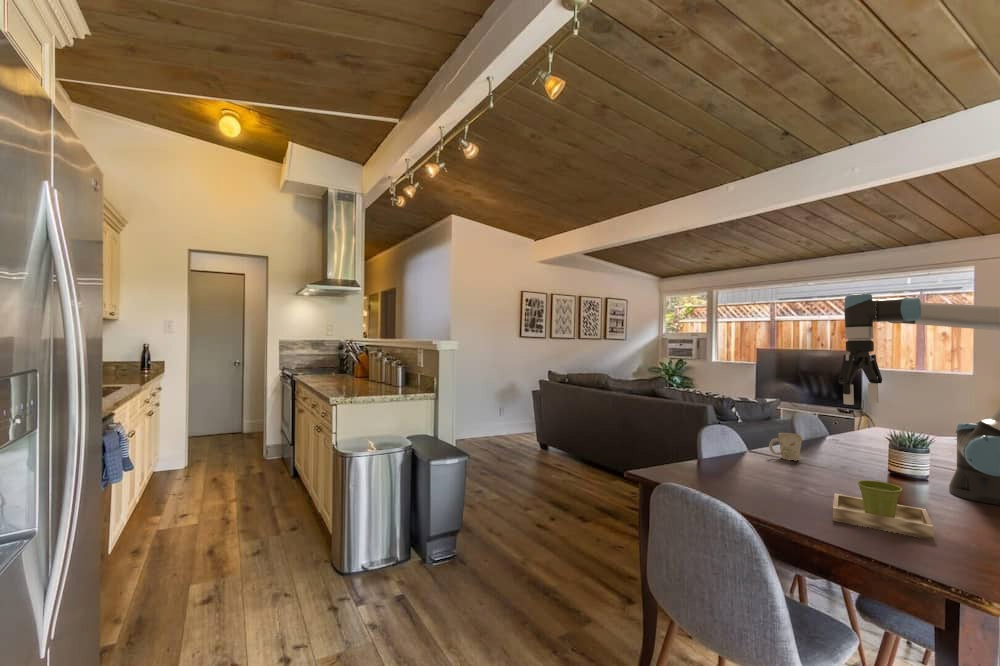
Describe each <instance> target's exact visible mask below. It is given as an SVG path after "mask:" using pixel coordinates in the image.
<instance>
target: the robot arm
mask: <svg viewBox="0 0 1000 666" xmlns="http://www.w3.org/2000/svg"><path fill="white" fill-rule="evenodd" d="M843 307H844V308H843V310H844V329H845V330H844V334H845V339H846V340H847V341H845V352H848V353H849V354H846V353H845V354H843V356H842V357H843V358H842V363H841V367H840V368H841V369H840V370H839V375H838V378H837V382H838V383H839V384H840V385H842V394H843V395H842V397H843V398H842V399H843V405H851V406H852V405H853V406H854V405H855V398H854V395H855V393H854V384H852V383H853V381H854V379H855V377H856V375H857V373H858V370H860V369H861V370H862V371H863V373H864V375H865V376H866V379H867V380H868V382H867V401H868V402H867V403H875V404H878V403H879V384H882V382H883V377H882V374H881V371H880V367H879V365H878V362H877V356H876V353H875V354H873V353H872V354H871V352H874V350H875V348H874V347H875V346H874V345H875V343H874V340H873V339H874V323H875V322H877V323H880V322H883V323H884V322H886V323H887V322H888V323H889V324H905V325H907V324H908V325H920V326H921V325H922V326H936V327H948V328H961V329H970V330H971V329H973V330H974V329H975V330H985V331H986V330H987V331H997V332H998V331H1000V306H997V305H980V304H978V305H977V304H974V305H973V304H957V303H940V302H938V303H937V302H922V301H921V299H920V298H919V297H908V296H907V297H906V296H905V297H897V298H881V299H876V298H873V295H872V294H871V293H854V294H852V293H851V294H849V295H848V294H847V295H846V296H845V298H844V306H843ZM955 433H956V470H955V472H954V473H953V476H952V477H951V478H952V479H951V480H950V482H949V484H948V485H949V486H948V492H949V493H950V494H952V495H954V496H956V497H959V498H963V499H967V500H970V501H974V502H979V503H983V504H990V505H991V504H992V505H999V506H1000V405H999V406H998V407H997V409H995V411H994V413H993V415H992V416H991V417H989V418H985V419H981V420H979V422H978V423H967V422H960V423H958V424H957V425H956V430H955Z"/></svg>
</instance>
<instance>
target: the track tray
mask: <svg viewBox="0 0 1000 666" xmlns="http://www.w3.org/2000/svg"><path fill="white" fill-rule="evenodd" d="M833 496H834V497H833V504H832V521H833V522H837V523H842V524H848V525H853V526H857V525H858V526H857V527H862V526H863V527H862V528H867V527H869V528H868V529H872V528H873V530H877V529H878V530H877V531H881V530H883V532H886V531H888V532H887V533H891V532H893V533H892V534H896V533H899V534H898V535H901V534H904V535H903V536H906V535H909V536H908V537H911V536H913V537H912V538H916V537H918V538H917V539H921V538H922V540H926V539H927V540H926V541H931V540H932V541H931V542H934V537H935V536H934V535H935V534H934V532H935V531H934V525H933V524H934V523H932V520H931V517H930V516H929V514H928V511H927V509H926V508H921V507H914V506H910V505H903V504H902V505H901V504H898V503H897V507H896V513H895V518H891V517H886V516H880V515H875V514H870V513H865V510H864V504H863V498H862V497H857V496H856V497H855V496H851V495H847V494H846V495H845V494H840V493H834V495H833Z"/></svg>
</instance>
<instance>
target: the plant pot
mask: <svg viewBox="0 0 1000 666" xmlns="http://www.w3.org/2000/svg"><path fill="white" fill-rule="evenodd" d="M857 485H858V486H859V490H860V492H861V498H863V504H864V510H865V513H870V514H875V515H880V516H886V517H891V518H895V513H896V507H897V504H898V502H899V501H898V500H899V497H900V496H901V492H903V488H902V486H901V487H900V486H899V485H896V484H894V483H889V482H885V481H878V480H868V479H866V480H858V481H857Z"/></svg>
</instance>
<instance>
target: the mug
mask: <svg viewBox="0 0 1000 666" xmlns="http://www.w3.org/2000/svg"><path fill="white" fill-rule="evenodd" d="M802 441H803V436H802V435H801V434H797V433H791V432H779V433H778V437H777V438H772V439H771V440H770V442H769V444H768V448H769V451H770V452H771V453H772V454H774V455H777V456H778V455H779V456H781V459H782V458H783V460H785V459H786V460H785V461H790V460H794V461H793V462H796V461H797V460H798V461H799V460H800V454H801V448H802ZM776 442H778V443H779V448H780V452H778V451H777V452H776V451H775V450H774V449H773V444H774V443H776Z"/></svg>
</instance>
